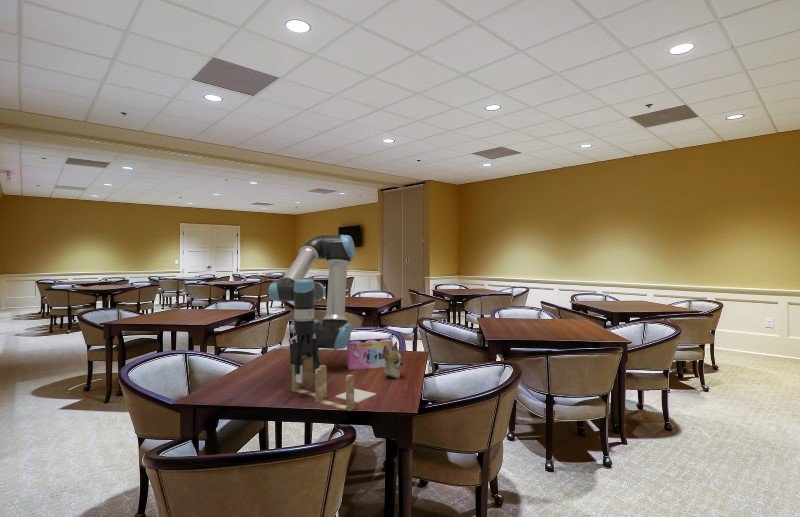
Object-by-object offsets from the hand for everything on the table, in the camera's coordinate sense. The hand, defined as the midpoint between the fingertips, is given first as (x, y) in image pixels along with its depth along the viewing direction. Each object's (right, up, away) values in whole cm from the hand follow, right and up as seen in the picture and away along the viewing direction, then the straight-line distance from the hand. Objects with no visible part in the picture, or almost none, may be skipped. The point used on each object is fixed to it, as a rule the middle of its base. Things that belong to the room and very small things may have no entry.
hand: (304, 380), depth 162 cm
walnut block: (0, -1, 0) cm, 1 cm away
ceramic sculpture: (+34, -6, +23) cm, 42 cm away
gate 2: (+13, -6, -11) cm, 18 cm away
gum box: (+22, -6, +43) cm, 49 cm away
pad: (+20, -6, -1) cm, 21 cm away
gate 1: (+1, -6, +2) cm, 6 cm away
